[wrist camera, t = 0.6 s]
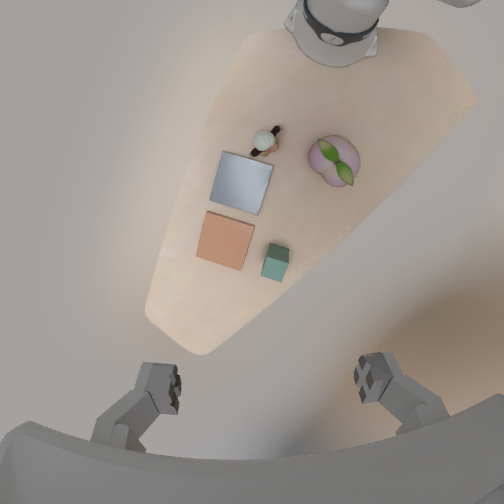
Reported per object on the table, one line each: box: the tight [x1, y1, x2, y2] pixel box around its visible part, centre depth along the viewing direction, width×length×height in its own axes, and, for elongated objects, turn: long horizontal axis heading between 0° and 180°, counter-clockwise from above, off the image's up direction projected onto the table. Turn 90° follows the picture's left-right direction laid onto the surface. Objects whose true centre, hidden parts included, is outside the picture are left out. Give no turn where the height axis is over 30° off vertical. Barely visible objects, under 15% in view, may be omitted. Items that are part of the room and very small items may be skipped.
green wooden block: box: [261, 243, 289, 282], centre depth 55 cm, size 4×4×8 cm
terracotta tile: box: [196, 211, 255, 271], centre depth 58 cm, size 10×10×1 cm
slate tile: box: [210, 152, 273, 215], centre depth 53 cm, size 10×10×1 cm
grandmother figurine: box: [249, 125, 283, 158], centre depth 45 cm, size 8×4×13 cm, turn 148°
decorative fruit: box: [308, 136, 360, 187], centre depth 45 cm, size 9×8×10 cm
